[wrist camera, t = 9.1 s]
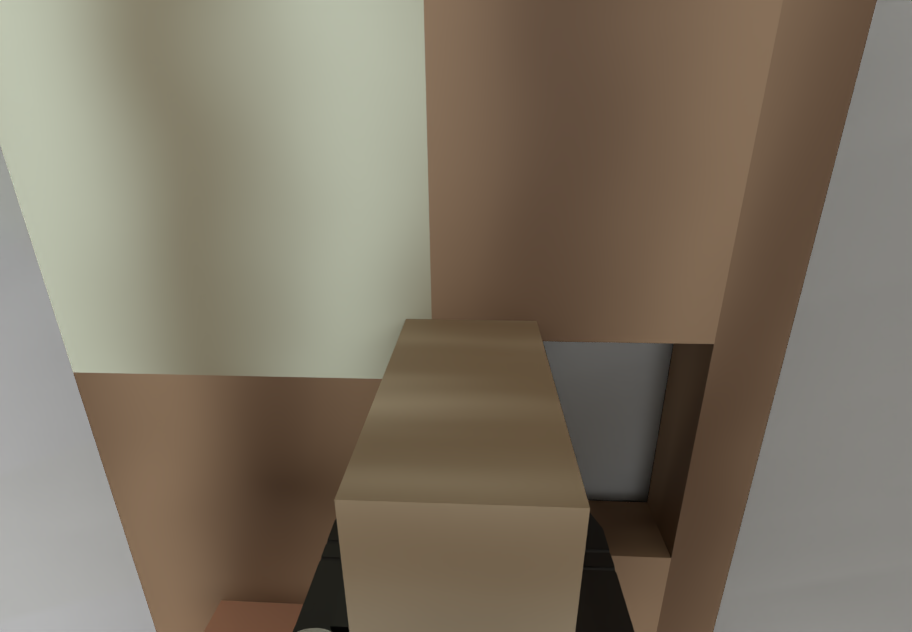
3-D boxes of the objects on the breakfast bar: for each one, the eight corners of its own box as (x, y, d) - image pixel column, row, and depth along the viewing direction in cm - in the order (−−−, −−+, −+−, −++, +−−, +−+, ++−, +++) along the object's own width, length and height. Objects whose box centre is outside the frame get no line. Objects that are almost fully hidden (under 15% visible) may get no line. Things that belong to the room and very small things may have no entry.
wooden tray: (826, -83, 9) (1627, -575, 3) (645, 755, 19) (731, 1093, 12) (24, -61, 10) (-800, -397, 4) (234, 730, 19) (109, 1034, 13)
